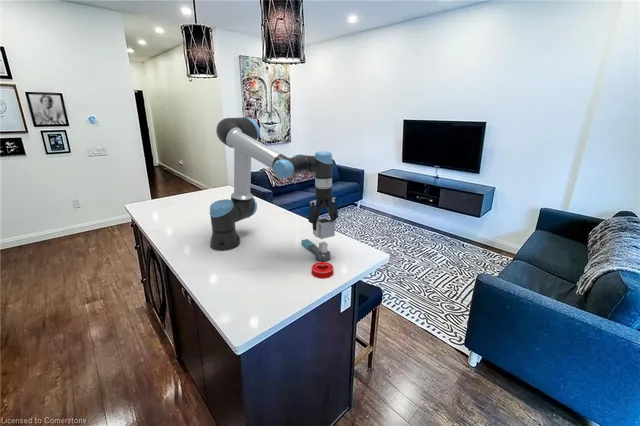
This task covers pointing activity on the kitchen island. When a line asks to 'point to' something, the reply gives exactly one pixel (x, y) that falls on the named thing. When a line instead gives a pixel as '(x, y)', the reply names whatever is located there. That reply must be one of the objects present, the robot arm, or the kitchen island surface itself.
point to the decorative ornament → (322, 270)
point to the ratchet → (317, 250)
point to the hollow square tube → (325, 228)
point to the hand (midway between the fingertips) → (323, 234)
